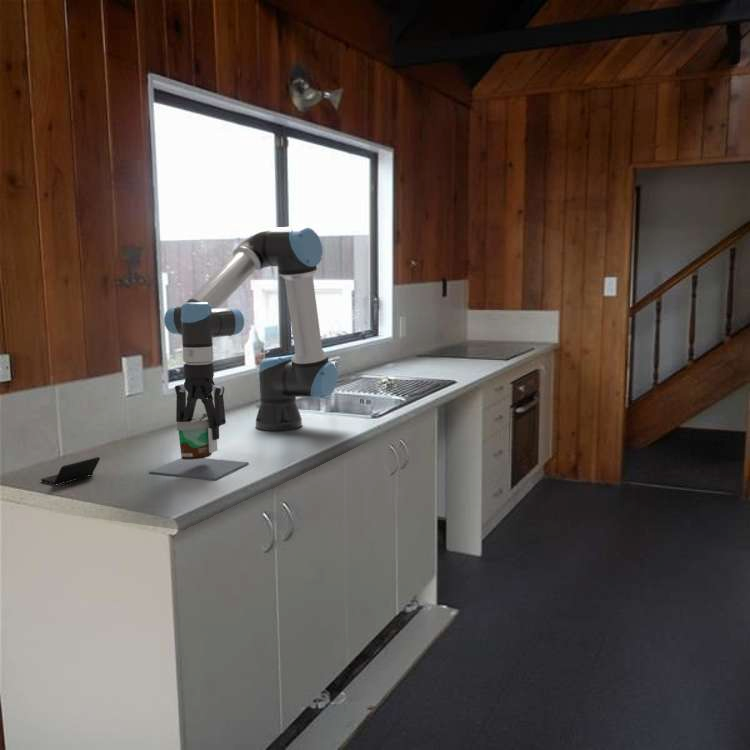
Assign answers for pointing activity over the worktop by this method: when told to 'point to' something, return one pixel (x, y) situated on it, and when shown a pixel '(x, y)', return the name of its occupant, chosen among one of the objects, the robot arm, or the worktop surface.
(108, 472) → the worktop surface
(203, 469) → the mat
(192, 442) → the food container
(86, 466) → the handheld gaming console
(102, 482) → the worktop surface
